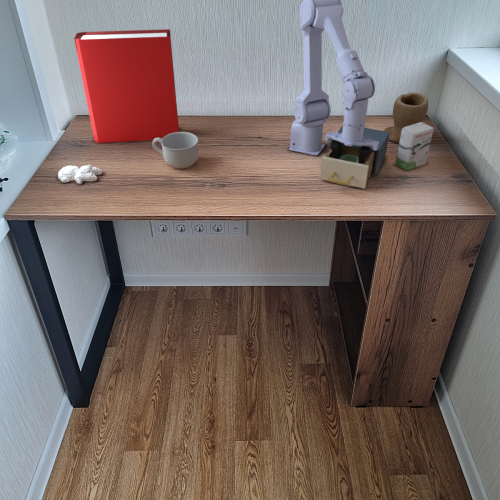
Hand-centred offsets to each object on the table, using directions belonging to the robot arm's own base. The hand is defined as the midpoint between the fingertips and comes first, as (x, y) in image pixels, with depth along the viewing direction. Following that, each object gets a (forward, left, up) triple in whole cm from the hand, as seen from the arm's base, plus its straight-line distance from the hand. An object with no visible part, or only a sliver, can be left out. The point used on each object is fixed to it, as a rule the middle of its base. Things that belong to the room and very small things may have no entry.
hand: (348, 167), depth 144 cm
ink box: (+15, +16, -3) cm, 22 cm away
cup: (0, 0, -1) cm, 1 cm away
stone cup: (+11, +33, -3) cm, 35 cm away
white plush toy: (-70, -32, -3) cm, 77 cm away
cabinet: (0, +11, -3) cm, 12 cm away
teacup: (-49, -13, -3) cm, 51 cm away
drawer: (0, -2, -2) cm, 3 cm away
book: (-71, -2, -3) cm, 71 cm away
